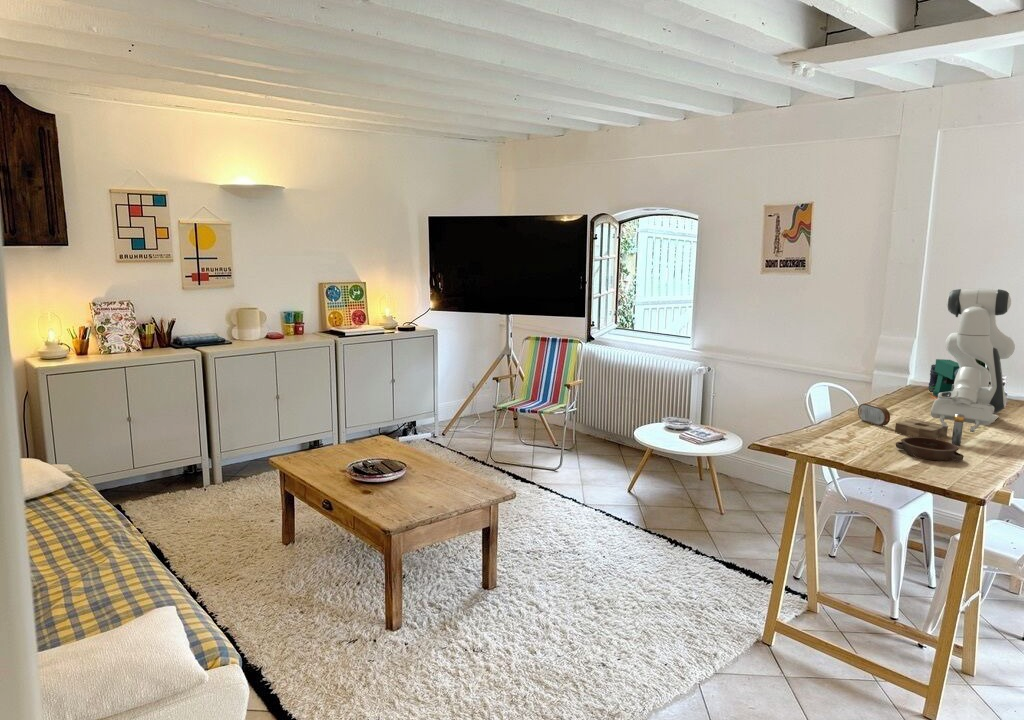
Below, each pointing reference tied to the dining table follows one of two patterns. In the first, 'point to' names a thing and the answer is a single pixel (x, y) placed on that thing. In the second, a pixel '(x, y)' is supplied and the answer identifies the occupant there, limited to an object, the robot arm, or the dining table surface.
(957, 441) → the grey upright cylinder
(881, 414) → the tin
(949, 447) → the dish
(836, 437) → the dining table surface
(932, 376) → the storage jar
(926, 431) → the brown square frame
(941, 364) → the power tool
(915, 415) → the dining table surface
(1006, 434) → the dining table surface
